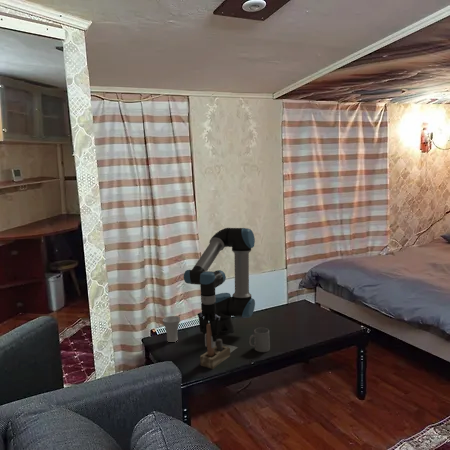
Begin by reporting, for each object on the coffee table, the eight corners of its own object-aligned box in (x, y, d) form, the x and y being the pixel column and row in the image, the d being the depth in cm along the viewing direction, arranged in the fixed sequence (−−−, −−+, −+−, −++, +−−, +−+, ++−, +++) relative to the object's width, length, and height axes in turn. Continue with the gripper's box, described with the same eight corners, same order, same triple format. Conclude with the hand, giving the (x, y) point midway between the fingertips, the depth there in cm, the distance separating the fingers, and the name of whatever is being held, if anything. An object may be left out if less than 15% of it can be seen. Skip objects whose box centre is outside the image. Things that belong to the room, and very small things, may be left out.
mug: (265, 344, 236) (264, 326, 234) (272, 350, 228) (272, 331, 226) (246, 349, 231) (245, 330, 230) (253, 355, 224) (252, 335, 222)
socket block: (200, 365, 214) (199, 347, 213) (218, 353, 227) (217, 335, 226) (213, 369, 210) (212, 350, 208) (230, 356, 223) (229, 338, 222)
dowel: (206, 354, 214) (205, 325, 212) (210, 352, 217) (208, 323, 214) (211, 356, 212) (210, 326, 210) (215, 353, 215) (213, 324, 213)
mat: (213, 351, 230) (213, 350, 230) (223, 344, 239) (223, 343, 239) (228, 354, 225) (228, 354, 225) (237, 347, 233) (237, 347, 233)
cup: (184, 338, 250) (182, 316, 248) (177, 345, 240) (176, 323, 238) (167, 336, 253) (166, 315, 251) (160, 343, 243) (159, 321, 241)
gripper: (191, 302, 212) (193, 345, 215) (217, 307, 203) (219, 352, 206) (200, 298, 218) (202, 340, 221) (225, 302, 209) (227, 346, 212)
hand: (210, 346), depth 214 cm, fingers closed on dowel, 3 cm apart
